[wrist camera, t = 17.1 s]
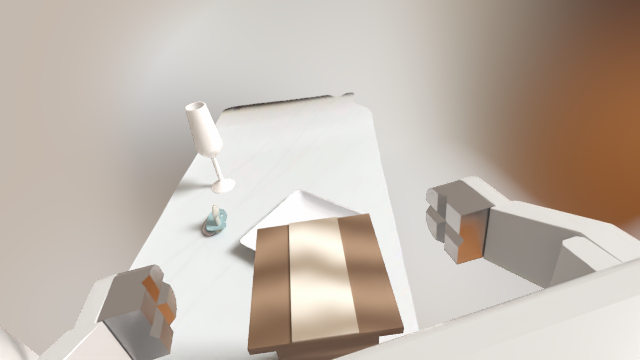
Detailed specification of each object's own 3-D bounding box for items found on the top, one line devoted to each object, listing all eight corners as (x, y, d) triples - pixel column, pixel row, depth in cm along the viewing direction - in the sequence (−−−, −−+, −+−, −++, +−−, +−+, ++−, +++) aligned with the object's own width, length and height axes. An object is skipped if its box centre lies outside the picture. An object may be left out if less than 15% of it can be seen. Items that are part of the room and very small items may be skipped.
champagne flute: (222, 176, 98) (195, 98, 83) (240, 181, 95) (215, 102, 80) (205, 189, 93) (174, 110, 79) (223, 195, 90) (194, 114, 76)
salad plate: (372, 226, 77) (372, 215, 74) (318, 296, 64) (316, 285, 61) (299, 197, 87) (297, 186, 85) (240, 252, 74) (236, 241, 72)
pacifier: (201, 240, 78) (227, 234, 79) (191, 221, 75) (218, 215, 75) (204, 219, 84) (228, 214, 84) (195, 200, 80) (220, 195, 81)
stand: (394, 428, 46) (403, 325, 30) (291, 443, 46) (246, 348, 30) (371, 324, 58) (368, 212, 42) (289, 336, 57) (256, 227, 42)
